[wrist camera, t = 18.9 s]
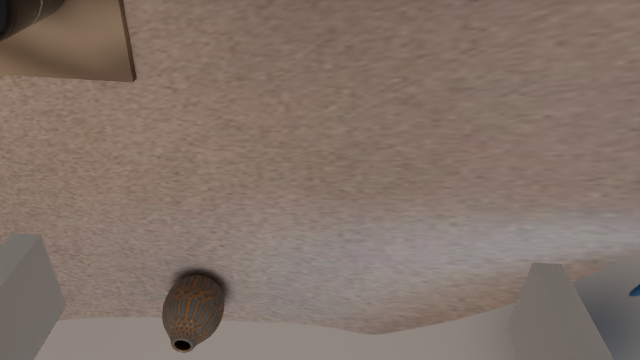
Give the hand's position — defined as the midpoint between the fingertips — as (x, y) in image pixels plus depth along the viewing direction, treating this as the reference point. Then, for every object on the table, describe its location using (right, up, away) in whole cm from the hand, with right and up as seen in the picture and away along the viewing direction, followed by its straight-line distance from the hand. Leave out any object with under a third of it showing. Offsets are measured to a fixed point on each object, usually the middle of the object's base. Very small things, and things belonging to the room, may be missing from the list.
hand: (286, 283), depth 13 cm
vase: (-14, -10, +46) cm, 49 cm away
